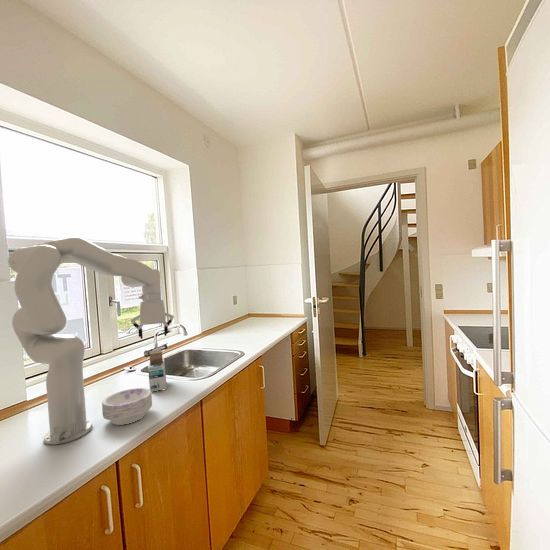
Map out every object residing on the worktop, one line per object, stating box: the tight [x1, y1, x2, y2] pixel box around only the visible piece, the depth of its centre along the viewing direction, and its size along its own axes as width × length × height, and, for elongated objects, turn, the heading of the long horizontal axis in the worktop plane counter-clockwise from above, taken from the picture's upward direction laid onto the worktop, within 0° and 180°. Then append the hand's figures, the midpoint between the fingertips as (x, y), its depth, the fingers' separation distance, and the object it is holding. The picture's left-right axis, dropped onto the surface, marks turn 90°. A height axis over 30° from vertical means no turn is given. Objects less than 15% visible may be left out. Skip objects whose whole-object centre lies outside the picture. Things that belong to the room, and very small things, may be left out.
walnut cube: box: [149, 348, 164, 366], centre depth 126 cm, size 5×5×5 cm
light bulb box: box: [147, 358, 167, 393], centre depth 127 cm, size 11×7×11 cm, turn 22°
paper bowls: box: [101, 387, 153, 426], centre depth 100 cm, size 15×15×8 cm
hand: (153, 336), depth 126 cm, fingers open, 9 cm apart
